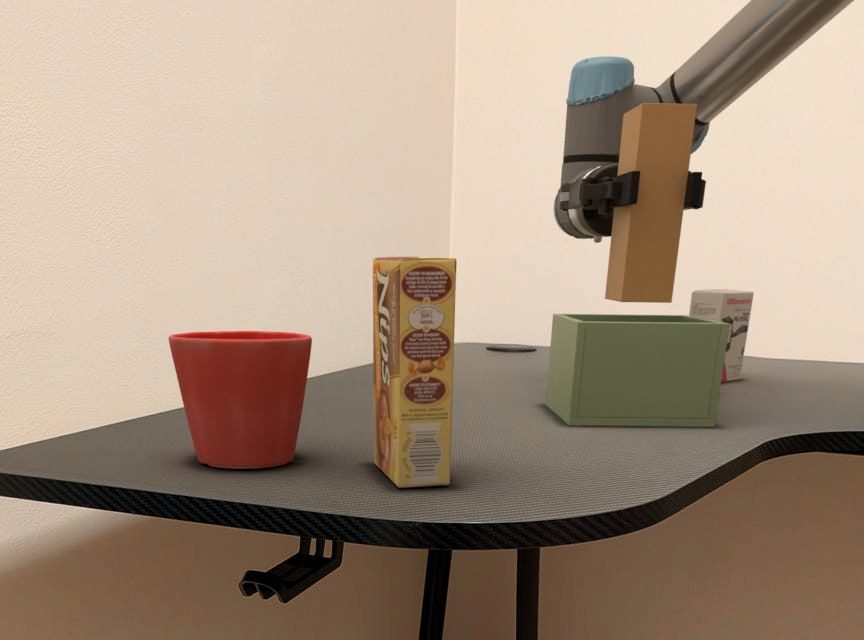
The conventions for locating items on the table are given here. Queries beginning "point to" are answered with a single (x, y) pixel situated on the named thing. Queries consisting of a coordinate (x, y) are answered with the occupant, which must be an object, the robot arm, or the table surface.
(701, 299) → the ink box
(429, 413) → the candy box
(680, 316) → the storage bin
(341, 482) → the table surface
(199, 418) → the flower pot
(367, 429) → the table surface
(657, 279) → the block
